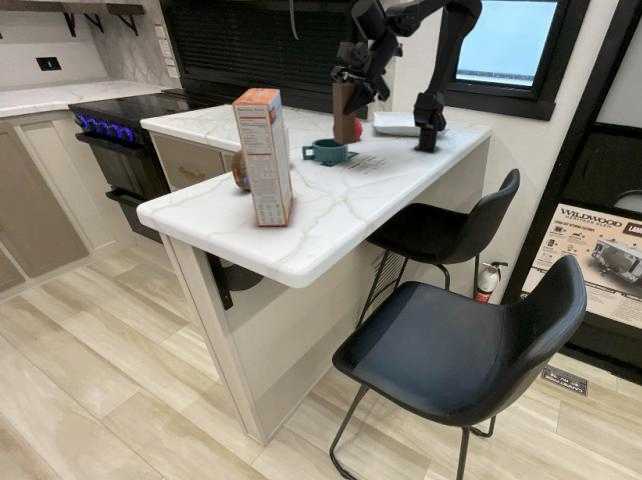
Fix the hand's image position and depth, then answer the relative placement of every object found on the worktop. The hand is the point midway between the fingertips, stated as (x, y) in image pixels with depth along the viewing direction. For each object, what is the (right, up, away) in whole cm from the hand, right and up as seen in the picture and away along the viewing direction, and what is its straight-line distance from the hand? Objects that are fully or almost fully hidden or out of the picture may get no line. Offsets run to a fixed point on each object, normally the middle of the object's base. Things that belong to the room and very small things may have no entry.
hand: (339, 112), depth 82 cm
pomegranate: (0, +8, +31) cm, 31 cm away
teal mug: (-5, -6, +13) cm, 16 cm away
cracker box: (-12, -29, -14) cm, 34 cm away
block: (+1, -5, +5) cm, 7 cm away
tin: (-20, -19, -2) cm, 27 cm away
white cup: (-17, -11, +7) cm, 22 cm away
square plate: (+23, +19, +46) cm, 55 cm away
